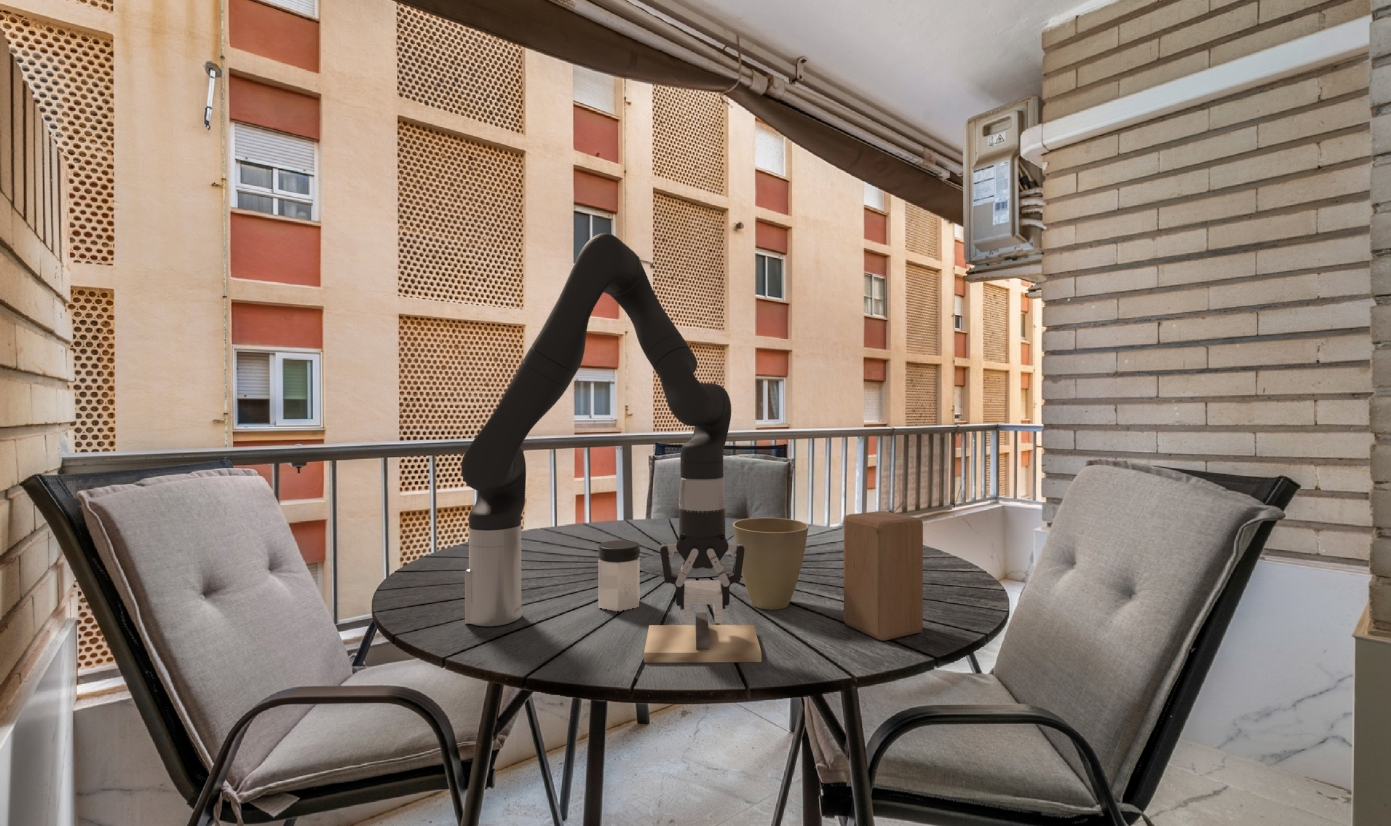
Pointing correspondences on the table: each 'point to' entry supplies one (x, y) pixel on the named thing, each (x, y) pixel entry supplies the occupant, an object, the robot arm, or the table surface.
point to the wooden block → (883, 574)
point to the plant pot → (771, 558)
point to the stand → (702, 643)
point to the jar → (618, 575)
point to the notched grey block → (702, 598)
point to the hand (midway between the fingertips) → (702, 607)
